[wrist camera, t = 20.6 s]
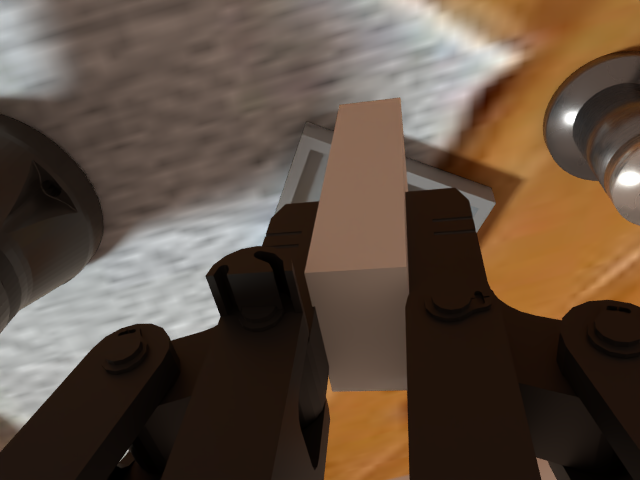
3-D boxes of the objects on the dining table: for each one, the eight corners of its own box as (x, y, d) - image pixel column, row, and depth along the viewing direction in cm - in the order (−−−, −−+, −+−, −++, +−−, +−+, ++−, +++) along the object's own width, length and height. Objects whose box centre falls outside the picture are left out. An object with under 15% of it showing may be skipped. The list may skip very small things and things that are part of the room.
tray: (410, 317, 45) (411, 334, 43) (256, 267, 43) (251, 283, 42) (491, 187, 37) (495, 202, 35) (306, 121, 35) (302, 134, 34)
